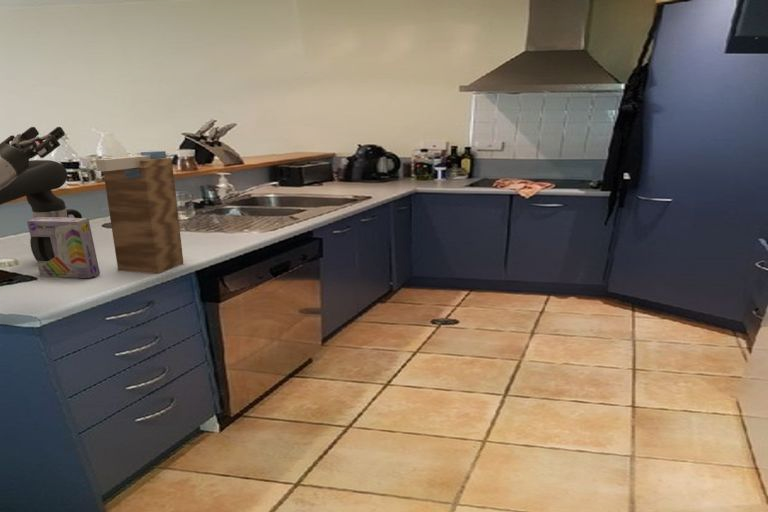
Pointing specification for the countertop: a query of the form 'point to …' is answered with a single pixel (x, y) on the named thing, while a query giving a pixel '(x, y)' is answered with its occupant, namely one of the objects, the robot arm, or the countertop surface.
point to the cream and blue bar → (128, 161)
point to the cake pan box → (63, 247)
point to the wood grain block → (144, 217)
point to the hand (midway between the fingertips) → (48, 130)
